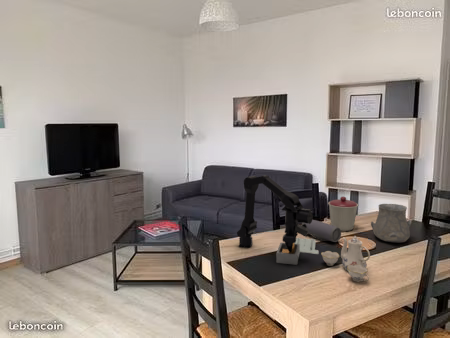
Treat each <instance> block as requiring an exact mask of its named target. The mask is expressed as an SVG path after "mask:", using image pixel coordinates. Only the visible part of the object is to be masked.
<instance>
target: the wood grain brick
mask: <svg viewBox="0 0 450 338" xmlns="http://www.w3.org/2000/svg"><path fill="white" fill-rule="evenodd" d="M282 253H290V254H295V243H293V246H292V251H291V252H289V251H288V249H283V250H282Z"/></svg>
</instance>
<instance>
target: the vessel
mask: <svg viewBox="0 0 450 338" xmlns="http://www.w3.org/2000/svg"><path fill="white" fill-rule="evenodd" d="M407 209H408V208H407V206H406V205H402V204H396V203H380V204H379V205H378V213H377V217H376V221H375V223H374V221H371V222H370V226H371V229H372V230H373V234H374V235H375V237H377V238H378V239H379V240H381V241H383V242H388V243H397V244H398V243H399V244H400V243H405V242H406V241H407V240H408V239H410V235H411V231H410V228H411V225H412V220H410V219H409V220H407V217H406V216H407V215H406V213H407Z"/></svg>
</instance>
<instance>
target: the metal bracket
mask: <svg viewBox="0 0 450 338" xmlns="http://www.w3.org/2000/svg"><path fill="white" fill-rule="evenodd" d="M316 243H317V242H316V239H314V237H312V238H307V236H306V237H305V236H304V238H301V237H296V243H295V244H300V253H303V254H314V255H319V250H318V249H316Z"/></svg>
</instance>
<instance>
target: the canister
mask: <svg viewBox="0 0 450 338" xmlns="http://www.w3.org/2000/svg"><path fill="white" fill-rule="evenodd" d="M327 204H328V206H329V207H328V208H329V219H330V225H333V226H336V227H338V228H340V230H341V232H349V231H352V230H353V228H354V227H355V223H356V218H357V217H356V215H357V210H358V206H359V204H358V203H357V202H356V201H354V200H348V199H347V197H345V196H341V197H340V198H339V199H332V200H330V201H328V203H327Z"/></svg>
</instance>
